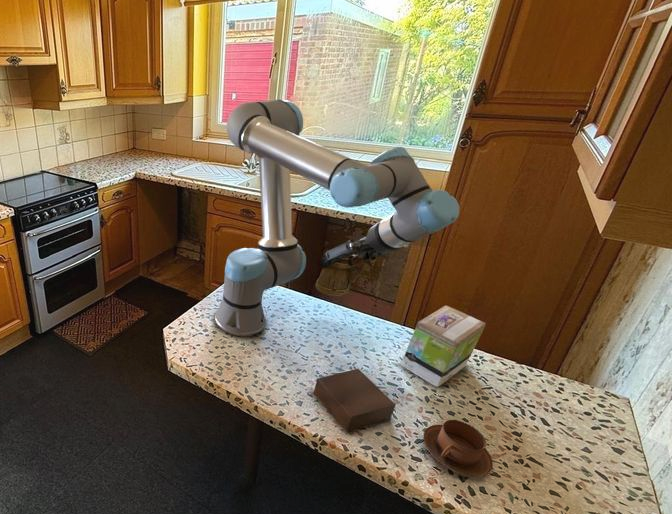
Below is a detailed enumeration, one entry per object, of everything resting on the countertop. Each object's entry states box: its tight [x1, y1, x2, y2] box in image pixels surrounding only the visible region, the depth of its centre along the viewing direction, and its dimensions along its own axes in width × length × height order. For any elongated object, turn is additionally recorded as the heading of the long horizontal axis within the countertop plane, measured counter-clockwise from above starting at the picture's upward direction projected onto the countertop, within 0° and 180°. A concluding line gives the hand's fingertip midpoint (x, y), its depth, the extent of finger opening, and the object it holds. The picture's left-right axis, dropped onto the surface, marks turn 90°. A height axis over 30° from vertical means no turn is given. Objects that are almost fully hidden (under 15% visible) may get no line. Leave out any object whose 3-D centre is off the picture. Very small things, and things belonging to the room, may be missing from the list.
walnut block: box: [313, 368, 397, 433], centre depth 94 cm, size 12×12×5 cm
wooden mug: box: [314, 252, 367, 297], centre depth 110 cm, size 9×14×18 cm, turn 46°
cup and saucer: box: [423, 419, 494, 478], centre depth 82 cm, size 12×12×6 cm
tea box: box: [400, 305, 486, 388], centre depth 104 cm, size 15×10×15 cm, turn 123°
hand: (337, 262), depth 114 cm, fingers closed on wooden mug, 9 cm apart
